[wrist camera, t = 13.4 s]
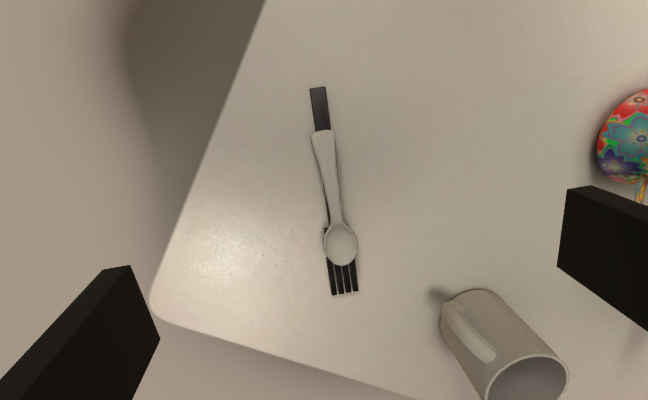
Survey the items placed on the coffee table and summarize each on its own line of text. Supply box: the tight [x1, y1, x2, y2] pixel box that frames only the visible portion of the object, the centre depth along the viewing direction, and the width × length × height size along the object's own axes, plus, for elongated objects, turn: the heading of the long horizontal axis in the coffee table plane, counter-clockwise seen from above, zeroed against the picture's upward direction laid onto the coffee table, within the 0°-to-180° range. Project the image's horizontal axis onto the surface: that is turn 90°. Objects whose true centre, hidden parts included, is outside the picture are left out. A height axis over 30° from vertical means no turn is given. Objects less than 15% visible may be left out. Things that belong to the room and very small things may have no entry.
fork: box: [310, 87, 358, 295], centre depth 29 cm, size 19×3×1 cm, turn 8°
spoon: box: [311, 130, 358, 266], centre depth 28 cm, size 3×12×2 cm, turn 9°
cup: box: [440, 290, 569, 400], centre depth 31 cm, size 7×10×9 cm
